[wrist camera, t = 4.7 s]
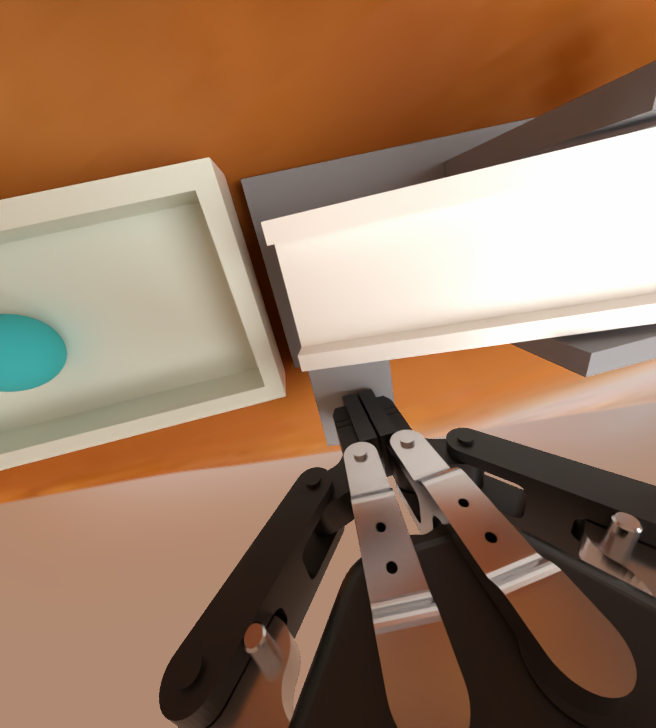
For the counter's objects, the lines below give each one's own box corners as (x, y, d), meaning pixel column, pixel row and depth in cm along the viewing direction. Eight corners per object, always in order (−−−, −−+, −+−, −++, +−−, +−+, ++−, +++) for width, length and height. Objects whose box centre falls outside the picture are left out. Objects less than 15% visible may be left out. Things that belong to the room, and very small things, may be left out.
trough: (285, 222, 13) (245, 221, 8) (1041, 43, 9) (1875, -176, 4) (331, 413, 18) (323, 482, 14) (827, 360, 14) (1080, 433, 9)
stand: (242, 183, 15) (176, 80, 5) (687, 89, 16) (1250, -120, 7) (294, 362, 19) (307, 477, 10) (634, 276, 21) (922, 305, 12)
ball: (-25, 317, 15) (-114, 340, 11) (56, 298, 15) (-5, 314, 12) (26, 380, 16) (-38, 417, 13) (96, 361, 17) (54, 392, 13)
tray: (-181, 260, 13) (-324, 266, 10) (224, 175, 14) (209, 157, 11) (-3, 444, 18) (-61, 486, 15) (285, 371, 20) (286, 396, 16)
